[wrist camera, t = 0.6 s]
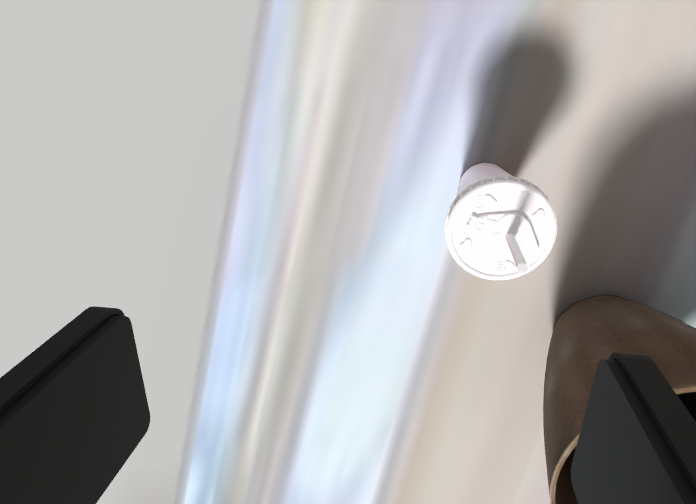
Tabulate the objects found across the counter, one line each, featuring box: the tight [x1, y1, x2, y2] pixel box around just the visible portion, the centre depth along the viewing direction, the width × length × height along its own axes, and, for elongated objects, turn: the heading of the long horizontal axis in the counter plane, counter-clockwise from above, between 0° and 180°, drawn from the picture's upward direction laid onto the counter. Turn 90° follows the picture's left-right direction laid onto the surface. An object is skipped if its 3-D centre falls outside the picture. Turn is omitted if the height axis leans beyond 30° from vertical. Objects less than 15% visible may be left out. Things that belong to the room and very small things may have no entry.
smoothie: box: [445, 163, 557, 280], centre depth 31 cm, size 6×6×14 cm
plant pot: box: [543, 296, 696, 504], centre depth 33 cm, size 15×15×16 cm
